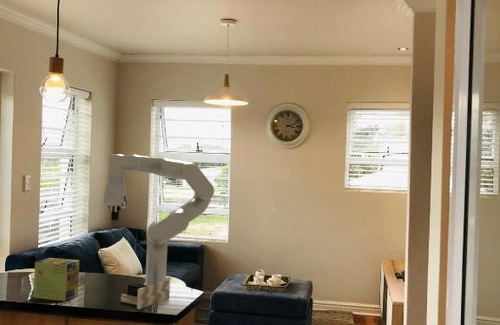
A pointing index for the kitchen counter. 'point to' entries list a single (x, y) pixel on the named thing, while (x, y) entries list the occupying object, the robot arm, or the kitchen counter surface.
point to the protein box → (56, 279)
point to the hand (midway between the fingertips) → (114, 220)
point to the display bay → (149, 294)
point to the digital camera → (134, 289)
